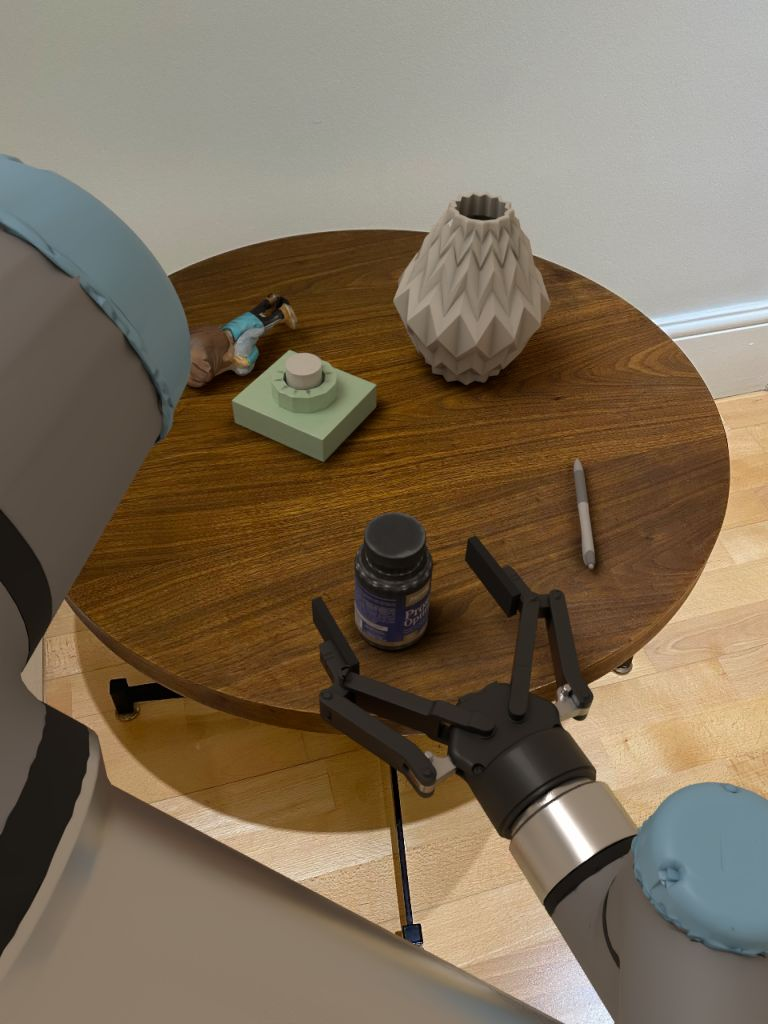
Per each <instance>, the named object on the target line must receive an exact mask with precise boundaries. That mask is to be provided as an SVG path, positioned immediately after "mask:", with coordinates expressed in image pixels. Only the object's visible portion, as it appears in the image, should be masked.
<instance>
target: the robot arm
mask: <svg viewBox="0 0 768 1024" xmlns="http://www.w3.org/2000/svg"><path fill="white" fill-rule="evenodd" d="M189 328H190V327H189V324H188V319H187V316H186V312H185V309H184V307H183V304H182V301H181V299H180V297H179V295H178V293H177V291H176V289H175V287H174V284H173V283H172V281H171V279H170V278H169V276H168V273H166V271H165V269H164V268H163V266H162V265H161V263H160V261H158V259H157V257H156V256H155V255H154V254H153V252H152V250H150V249H149V247H148V246H147V245H146V244H145V243H144V241H143V240H142V239H141V238H140V237H139V236H138V234H137V233H136V232H135V231H134V230H133V229H132V228H131V227H130V226H129V225H128V224H127V223H126V222H125V221H124V220H123V219H122V218H120V217H119V215H117V214H116V213H115V212H114V211H113V210H112V209H111V208H109V207H108V206H107V205H106V204H105V203H104V202H102V201H101V200H100V199H99V198H97V197H96V196H94V195H93V194H92V193H90V192H89V191H87V190H86V189H84V188H83V187H82V186H80V185H78V184H77V183H75V182H74V181H72V180H70V179H68V178H67V177H64V176H62V175H61V174H59V173H57V172H56V171H53V170H51V169H43V168H38V167H35V166H32V165H29V164H26V163H25V162H23V161H22V160H21V159H20V158H18V157H17V156H13V155H9V154H5V153H2V152H0V1024H566V1023H565V1022H563V1021H562V1020H559V1019H557V1018H556V1017H553V1016H551V1015H549V1014H548V1013H546V1012H544V1011H542V1010H540V1009H538V1008H536V1007H534V1006H532V1005H530V1004H528V1003H527V1002H524V1001H523V1000H521V999H519V998H517V997H516V996H513V995H512V994H509V993H507V992H506V991H504V990H502V989H500V988H498V987H496V986H494V985H492V984H491V983H488V982H487V981H485V980H484V979H481V978H479V977H477V976H476V975H474V974H472V973H470V972H469V971H468V972H467V970H464V969H462V968H460V967H458V966H457V965H455V964H453V963H451V962H449V961H447V960H445V959H443V958H442V957H440V956H438V955H436V954H434V953H432V952H431V951H428V950H426V949H424V948H422V947H421V946H419V945H417V944H415V943H414V942H411V941H409V940H407V939H405V938H403V937H402V936H399V935H398V934H396V933H394V932H392V931H390V930H388V929H387V928H384V926H383V927H382V926H381V925H379V924H377V923H375V922H373V921H371V920H370V919H367V918H366V917H364V916H362V915H360V914H358V913H357V912H355V911H353V910H350V909H348V908H347V907H344V906H343V905H342V904H339V903H338V902H335V901H333V900H332V899H330V898H328V897H325V895H322V894H320V893H318V892H317V891H315V890H313V889H310V888H309V887H307V886H305V885H303V884H301V883H299V882H297V881H296V880H294V879H292V878H290V877H288V876H286V875H284V874H282V873H280V872H278V871H277V870H275V869H274V868H272V867H269V866H267V865H265V864H263V863H261V862H260V861H258V860H256V859H254V858H252V857H250V856H248V855H246V854H244V853H242V852H240V851H238V850H237V849H235V848H233V847H231V846H229V845H227V844H226V843H224V842H222V841H220V840H218V839H216V838H214V837H212V836H210V835H209V834H207V833H205V832H203V831H201V830H199V829H197V828H195V827H194V826H191V825H189V824H188V823H186V822H184V821H182V820H180V819H178V818H176V817H175V816H173V815H171V814H169V813H166V812H165V811H164V810H161V809H159V808H157V807H155V806H154V805H151V804H150V803H148V802H146V801H144V800H142V799H140V798H138V797H136V796H135V795H133V794H131V793H129V792H127V791H125V790H124V789H121V788H120V787H118V786H115V785H113V784H112V782H111V781H110V779H109V777H108V774H107V773H108V772H107V768H106V764H105V759H104V755H103V750H102V746H101V742H100V738H99V735H98V734H97V732H96V731H95V730H94V729H92V728H90V727H89V726H87V725H86V724H84V723H83V722H81V721H78V720H77V719H75V718H74V717H71V716H69V715H68V714H66V713H64V712H62V711H60V710H59V709H57V708H55V707H54V706H52V705H50V704H48V703H47V702H44V701H42V700H40V699H39V698H37V696H36V695H35V694H33V692H32V691H30V689H29V688H28V686H27V685H26V683H25V682H24V681H23V678H22V673H23V672H24V671H25V669H26V667H27V665H28V664H29V661H30V660H31V658H32V656H33V655H34V653H35V651H36V649H37V648H38V646H39V644H40V643H41V641H42V639H43V638H44V636H45V635H46V633H47V631H48V629H49V627H50V625H51V623H52V622H53V620H54V619H55V617H56V615H57V614H58V611H59V610H60V608H61V606H62V604H63V603H64V601H65V600H66V597H67V596H68V594H69V592H70V590H71V589H72V587H73V585H74V584H75V582H76V580H77V578H78V576H79V575H80V573H81V571H82V570H83V568H84V566H85V565H86V563H87V561H88V559H89V557H90V555H91V554H92V552H93V550H94V549H95V547H96V546H97V544H98V542H99V540H100V539H101V537H102V535H103V534H104V531H105V529H106V528H107V526H108V524H109V523H110V521H111V519H112V517H113V516H114V514H115V512H116V510H117V508H118V507H119V505H120V504H121V502H122V500H123V498H124V496H125V495H126V493H127V492H128V490H129V488H130V486H131V484H132V482H134V479H135V477H137V474H138V472H139V471H140V469H141V467H142V465H143V463H144V462H145V460H146V458H147V457H148V455H149V453H150V451H151V449H152V448H153V447H156V445H157V444H159V443H160V442H162V441H165V439H166V438H167V436H168V434H169V432H170V430H171V429H172V428H173V423H174V412H175V410H176V408H177V405H178V403H179V401H180V400H181V397H182V395H183V393H184V391H185V389H186V387H187V381H188V378H189V374H190V368H191V346H190V333H189ZM466 541H467V542H466V549H465V557H464V561H465V562H466V564H467V565H468V567H469V568H470V569H471V571H472V572H473V573H474V574H475V576H476V577H477V578H478V580H479V581H480V583H481V584H482V585H483V587H484V588H485V589H486V591H487V592H488V593H489V594H490V596H491V597H492V599H493V600H494V602H496V604H497V605H498V606H499V608H500V609H501V610H502V611H503V613H504V614H505V616H506V617H507V618H508V619H509V618H512V617H514V616H516V615H517V614H518V612H519V618H518V627H517V631H516V633H517V634H516V639H515V647H514V654H513V659H512V667H511V675H510V681H509V683H507V682H499V681H498V680H495V681H493V682H490V683H488V684H487V685H486V686H484V687H483V688H482V689H481V690H480V691H475V692H470V693H467V694H464V695H463V696H460V697H458V699H457V702H456V703H455V704H453V703H450V702H447V701H445V700H442V699H436V700H431V699H428V698H426V697H422V696H420V695H417V694H414V693H411V692H408V691H406V690H403V689H400V688H398V687H395V686H393V685H389V684H386V683H383V682H380V681H379V680H376V679H373V678H371V677H367V676H364V675H362V674H360V673H361V670H360V669H361V668H360V667H361V666H360V665H361V664H360V663H361V662H360V661H359V659H358V657H357V656H356V653H355V652H354V650H353V649H352V647H351V645H350V644H349V642H348V640H347V638H346V637H345V635H344V633H343V632H342V630H341V628H340V627H339V625H338V623H337V622H336V620H335V618H334V616H333V614H332V613H331V611H330V610H329V608H328V606H327V604H326V603H325V601H324V599H323V598H322V596H320V595H319V596H318V597H315V598H313V599H311V613H312V622H313V624H314V626H315V628H316V629H317V631H318V633H319V635H320V636H321V638H322V640H323V642H320V643H318V649H319V662H320V664H321V665H322V667H323V669H324V671H325V672H326V674H327V676H328V678H329V679H330V682H331V683H332V684H331V685H330V687H328V688H327V687H326V688H323V689H322V690H321V691H320V692H319V693H318V703H319V705H318V706H319V717H320V718H321V720H323V722H325V723H327V724H329V725H330V726H331V727H333V728H334V729H336V730H337V731H339V732H340V733H342V734H343V735H345V736H346V737H347V738H349V739H351V740H352V741H354V742H355V743H356V744H358V745H360V747H362V748H364V749H365V750H366V751H368V752H369V753H371V754H373V755H374V756H375V757H377V758H378V759H379V760H381V761H382V762H384V763H386V764H387V765H389V766H390V767H392V768H393V769H394V770H396V771H398V773H400V774H402V775H403V776H404V778H405V779H406V780H407V782H408V783H409V784H410V786H411V787H412V788H413V790H414V791H415V792H416V794H417V795H418V796H419V797H420V798H423V799H430V798H431V797H433V795H434V794H435V792H436V791H435V789H436V787H437V786H438V785H440V784H442V783H443V782H445V781H446V780H448V779H449V778H451V777H453V776H454V775H456V776H458V777H460V778H461V779H462V780H463V781H465V783H466V784H467V786H468V787H469V788H470V790H471V792H472V794H473V796H474V798H475V799H476V800H477V802H478V804H479V805H480V807H481V809H482V810H483V812H484V814H485V815H486V817H487V818H488V820H489V821H490V823H491V825H492V826H493V828H494V830H495V831H496V833H497V835H498V836H499V837H500V838H502V839H505V840H508V841H509V845H508V851H509V853H510V855H511V856H512V858H513V860H514V861H515V863H516V864H517V867H518V868H519V869H520V871H521V872H522V875H524V877H525V880H526V881H527V883H528V884H529V886H530V887H531V889H532V890H533V892H534V894H535V895H536V897H537V899H538V900H539V902H540V903H541V905H542V907H544V910H545V911H546V913H547V914H548V916H549V918H550V919H551V921H552V922H553V924H554V926H555V927H556V929H557V930H558V932H559V933H560V935H561V937H562V938H563V940H564V942H565V943H566V945H567V947H568V948H569V950H570V952H571V953H572V955H573V957H574V958H575V960H576V961H577V964H578V965H579V967H580V969H581V970H582V972H583V973H584V975H585V977H586V978H587V980H588V981H589V983H590V985H591V986H592V989H594V991H595V993H596V995H597V996H598V998H599V999H600V1001H601V1003H602V1004H603V1006H604V1007H605V1009H606V1011H607V1013H608V1014H609V1016H610V1017H611V1019H612V1021H613V1024H768V799H767V798H765V797H763V796H762V795H760V794H759V793H757V792H755V791H752V790H749V789H747V788H744V787H741V786H738V785H734V784H732V783H729V782H718V781H705V782H704V781H703V782H697V783H692V784H689V785H686V786H683V787H681V788H679V789H677V790H675V791H674V792H673V793H671V794H669V795H668V796H667V797H666V798H665V799H663V800H662V802H661V803H660V804H659V805H658V807H657V808H656V809H655V810H654V811H653V813H652V814H651V815H649V816H648V818H647V819H645V820H643V822H642V824H641V826H639V827H638V825H637V824H636V822H635V821H634V820H633V818H632V817H631V815H630V814H629V813H628V811H627V810H626V808H625V807H624V806H623V804H622V803H621V801H620V800H619V798H618V796H616V794H615V793H614V791H613V790H612V788H611V787H610V786H609V784H608V783H607V782H605V781H602V780H597V769H596V767H595V766H594V765H593V763H592V762H591V760H590V759H589V757H588V756H587V755H586V753H585V752H584V751H583V750H582V748H581V746H580V745H579V744H578V742H577V741H576V740H575V738H574V737H573V736H572V734H571V733H570V732H569V731H568V730H567V729H565V728H564V726H563V724H562V722H563V721H566V720H570V719H573V720H575V721H577V722H583V721H585V720H586V719H587V717H588V714H589V712H590V710H591V706H592V705H593V701H594V697H595V696H594V693H593V691H592V689H591V688H590V687H589V684H587V682H586V679H584V677H583V675H582V674H581V670H580V664H579V660H578V655H577V650H576V644H575V639H574V634H573V630H572V625H571V620H570V615H569V610H568V604H567V599H566V595H565V593H564V592H563V591H562V590H560V589H555V588H554V589H551V590H550V591H549V592H548V593H542V594H540V593H537V592H534V591H532V590H531V589H530V587H529V586H528V585H527V584H526V582H525V580H524V579H522V577H521V576H520V575H519V574H518V572H517V571H516V570H515V568H514V567H512V566H511V565H506V566H502V567H501V566H500V564H499V563H498V562H497V560H496V559H495V557H494V556H493V555H492V554H491V553H490V552H489V550H488V549H487V547H486V546H485V545H484V544H483V542H482V541H481V540H480V538H479V537H478V536H477V535H473V536H471V537H468V538H467V540H466ZM539 619H544V622H545V627H546V628H545V629H546V634H547V640H548V647H549V651H550V657H551V662H552V669H553V674H554V679H555V685H556V689H557V690H556V693H555V696H554V702H555V703H554V702H552V701H551V700H548V699H546V698H544V697H541V696H539V695H537V694H534V693H532V692H530V686H531V678H532V672H533V660H534V659H533V658H534V652H535V651H534V650H535V644H536V635H537V628H538V627H537V626H538V620H539ZM375 716H377V717H379V718H383V719H385V720H387V721H390V722H393V723H396V724H398V725H401V726H404V727H406V728H409V729H411V730H414V731H417V732H420V733H421V734H422V733H423V734H425V735H426V737H427V738H428V739H430V740H431V741H433V742H437V743H439V744H442V745H444V746H447V750H446V756H442V757H441V756H437V755H436V754H435V753H434V752H432V751H431V750H425V751H422V750H421V748H420V747H419V746H417V744H416V743H414V742H412V741H411V740H410V739H408V738H407V737H405V736H404V735H402V734H401V733H399V732H398V731H397V730H395V729H394V728H392V727H391V726H389V725H387V724H386V723H384V722H383V721H381V720H380V719H379V718H377V717H375ZM448 724H449V725H448Z"/></svg>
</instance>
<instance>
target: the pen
mask: <svg viewBox="0 0 768 1024" xmlns="http://www.w3.org/2000/svg"><path fill="white" fill-rule="evenodd" d="M583 467H584V466H583V464H582V462H581V461H580V459H579V458H575V460H574V462H573V480H574V485H575V486H574V489H575V496H576V503H577V504H576V505H577V509H578V510H577V511H578V516H579V523H580V531H581V551H582V552H581V553H582V559H583V563H584V564H585V566H586V567H588V569H589V570H591V571H592V570H594V567H595V566H596V554H595V553H596V552H595V546H594V539H593V531H592V530H593V529H592V523H591V518H590V517H591V516H590V506H589V498H588V493H587V484H586V477H585V476H586V475H585V471H584V468H583Z"/></svg>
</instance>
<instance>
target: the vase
mask: <svg viewBox="0 0 768 1024" xmlns="http://www.w3.org/2000/svg"><path fill="white" fill-rule="evenodd" d="M515 215H516V213H515V210H514V209H513V208H512V203H511V201H506V200H503V198H502V196H501V195H494V196H492V195H491V194H490V193H489V192H488V191H486V192H482V193H480V194H479V193H478V192H474V191H470V192H469V193H468V194H467V195H465V194H457V197H456V199H452V200H450V201H449V202H448V206H447V208H446V209H445V210H444V212H443V214H442V215H441V216H440V217H439V219H438V221H437V222H436V223H435V224H433V225H432V227H431V229H430V231H429V233H428V234H427V235H426V236H425V237H424V239H423V242H422V243H421V246H420V248H419V250H418V252H416V254H415V255H414V257H413V258H412V259H411V261H410V262H409V263H408V265H407V266H406V268H405V269H404V271H402V273H401V275H400V276H399V277H398V279H397V285H398V288H397V289H396V292H395V294H394V297H393V305H394V306H395V309H396V311H397V313H398V314H399V317H400V319H401V320H402V322H403V325H404V327H405V330H406V332H407V335H408V336H409V338H410V340H411V342H412V345H414V347H415V349H416V351H417V353H418V355H419V356H421V357H423V358H424V362H425V363H426V364H428V365H429V366H430V367H431V373H432V374H433V375H440V376H443V378H444V379H445V381H446V382H448V383H449V382H456V381H457V382H460V383H462V384H463V385H465V386H467V385H469V384H472V383H473V382H478V383H486V382H487V380H488V379H489V378H490V377H493V376H494V377H495V376H498V375H499V374H500V371H501V370H504V369H505V368H506V367H507V366H509V364H510V363H512V361H514V360H515V359H516V358H517V357H518V356H519V355H520V354H521V353H522V352H523V350H524V349H525V347H526V346H527V344H528V342H529V341H530V340H531V338H532V336H533V335H534V334H535V333H536V332H537V331H538V330H539V329H541V328H542V320H543V319H544V317H545V315H546V314H547V312H548V311H549V309H550V307H551V301H550V298H549V294H548V291H547V289H546V286H545V283H544V279H543V276H542V273H541V271H540V270H539V268H538V267H536V265H535V261H534V256H533V251H532V250H533V249H532V246H531V241H530V238H529V237H528V236H527V235H526V234H525V232H524V230H522V228H521V222H520V219H519V218H517V217H516V216H515Z"/></svg>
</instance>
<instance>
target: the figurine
mask: <svg viewBox="0 0 768 1024" xmlns="http://www.w3.org/2000/svg"><path fill="white" fill-rule="evenodd" d="M266 311H268V313H271V314H270V315H269V316H267V315H265V314H266ZM297 323H298V319H297V316H296V313H295V311H294V309H293V308H292V306H291V304H290V301H289V300H288V299H287V298H285V297H283V296H282V295H280V293H277V292H273V293H272V292H271V293H269V294H267V296H266V298H264V299H263V300H262V301H261V302H260V303H259V304H257V305H256V306H254V307H253V308H251V310H249V311H246V312H244V313H242V314H240V315H239V316H237V317H235V318H234V319H232V320H230V321H229V322H227V323H225V324H223V325H220V326H215V325H213V324H212V325H211V324H203V325H200V326H194V327H188V328H189V333H190V346H191V368H190V374H189V378H188V381H187V384H186V386H190V387H192V388H202V387H204V386H205V385H206V384H207V383H209V382H211V381H212V380H213V378H214V377H216V376H218V375H221V374H222V373H225V372H227V371H230V370H231V371H232V372H234V373H235V374H236V375H238V376H240V377H243V376H247V375H248V374H249V373H251V372H252V371H253V369H254V367H255V364H256V361H257V359H258V358H259V355H260V353H259V348H258V347H257V345H256V344H257V343H258V341H259V339H260V338H262V337H264V336H265V335H266V333H267V332H268V331H269V330H272V329H273V328H274V327H275V326H276V325H278V324H285V325H286V326H287V327H288V328H289V329H290V330H296V326H297Z"/></svg>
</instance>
